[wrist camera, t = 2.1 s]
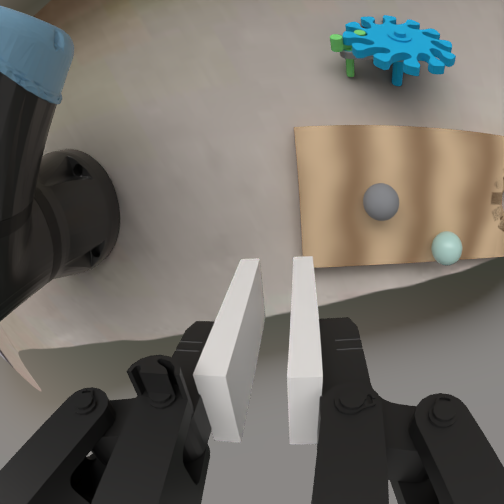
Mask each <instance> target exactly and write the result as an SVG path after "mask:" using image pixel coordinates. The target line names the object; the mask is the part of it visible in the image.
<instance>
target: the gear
mask: <svg viewBox="0 0 504 504" xmlns="http://www.w3.org/2000/svg"><path fill="white" fill-rule="evenodd" d="M361 25H362V26H363V27H365V28H367V29H365V28H362V27H360V24H359V23H357V22H350V23H348V24H346V31H345V32H344V33H343V39H342V36H341V35H338V34H334V35H331V36H330V42H331V50H332V51H334V52H340V55H341V56H342V57H343V58H346V71H347V76H348V77H354V75H355V74H354V59H364V60H373V64H374V65H375V66H377V67H378V68H380V69H383V70H388V69H389V68H390V66H391V64H392V63H393V69H392V84H393V85H395V86H401V85H402V79H403V72H404V73H406V74H409V75H413V76H419V72H420V64H419V63H418V61H425V62H427V63H428V64H429V65H428V71H429V72H430V73H432V74H443V73H444V68H445V66H447V67H450V66H452V65H454V62H455V57H456V56H455V55H454V54H452V53H451V49H452V44H451V42H449V41H446V40H439V38H440V34H439V33H438V32H437V31H436V30H435V29H426V30H419V28H420V24H419V23H418V22H416V21H413V20H407V21H406V23H404V24H399V25H396V18H395V17H392V16H386V15H384V16H383V24H381V25H378V24H375V19H374V18H373V17H361ZM434 56H435V57H437V58H439V59H440V60H438V59H437V58H435V57H434Z"/></svg>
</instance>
